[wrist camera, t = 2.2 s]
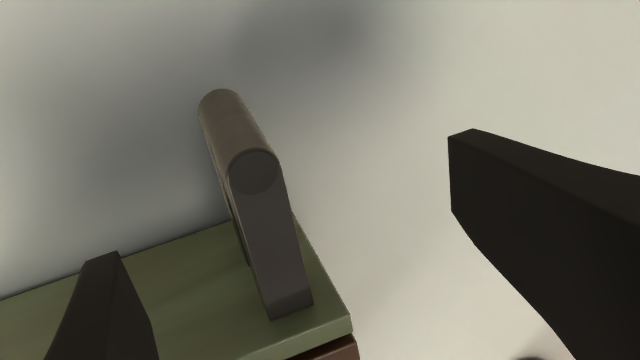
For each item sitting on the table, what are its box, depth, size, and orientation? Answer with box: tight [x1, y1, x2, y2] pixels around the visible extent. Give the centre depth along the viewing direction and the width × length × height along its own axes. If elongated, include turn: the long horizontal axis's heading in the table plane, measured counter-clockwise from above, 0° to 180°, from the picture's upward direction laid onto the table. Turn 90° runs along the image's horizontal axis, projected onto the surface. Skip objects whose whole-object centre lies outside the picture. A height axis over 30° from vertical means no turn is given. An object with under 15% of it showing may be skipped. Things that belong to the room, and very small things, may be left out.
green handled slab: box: [0, 89, 353, 360], centre depth 17 cm, size 6×12×6 cm, turn 100°
